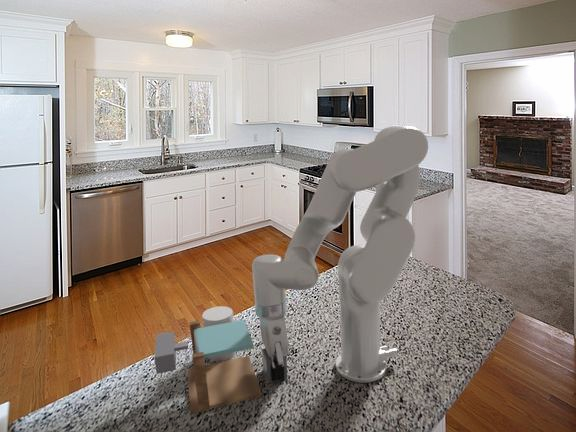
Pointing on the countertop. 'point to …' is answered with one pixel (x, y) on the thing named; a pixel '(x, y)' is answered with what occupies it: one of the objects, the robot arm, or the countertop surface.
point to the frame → (219, 380)
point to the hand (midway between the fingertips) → (275, 372)
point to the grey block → (268, 364)
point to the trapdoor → (203, 343)
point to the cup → (215, 318)
